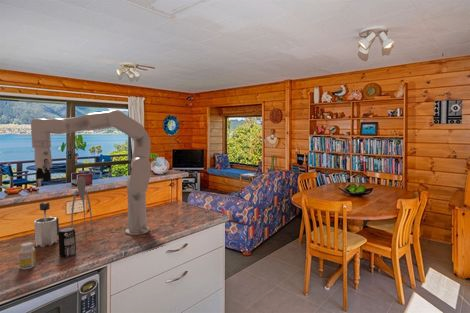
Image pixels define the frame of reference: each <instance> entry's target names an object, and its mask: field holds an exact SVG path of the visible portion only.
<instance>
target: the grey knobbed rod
mask: <svg viewBox="0 0 470 313" xmlns="http://www.w3.org/2000/svg"><path fill="white" fill-rule="evenodd" d="M50 209H51V208H50V202H48V201H47V202H41V203H39V211H43V218H44V222H47V220H46V217H47V211H48V210H50Z"/></svg>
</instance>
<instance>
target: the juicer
mask: <svg viewBox="0 0 470 313" xmlns="http://www.w3.org/2000/svg"><path fill="white" fill-rule="evenodd" d="M76 186H77V190H75V191H74V195H73V198H72V205H71V217H70V219H71V227H73V228H74V207H75V202H76V198H77V195H79V198H80V200H81V201H82V208H83V223H84V225H86V209H85V208H86V207H85V206H86V205H85V204H86V203H85V202H86V201H85V197H86V199H87V203H88V209H89V210H88V211H89V216H90V218H89V219H90V228H91V230H92V229H93V216H92V207H91V206H92V205H91V201H90V196H89V193H88V190H86V178H85V177H84V176H79V177H78V178H77V180H76Z"/></svg>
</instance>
